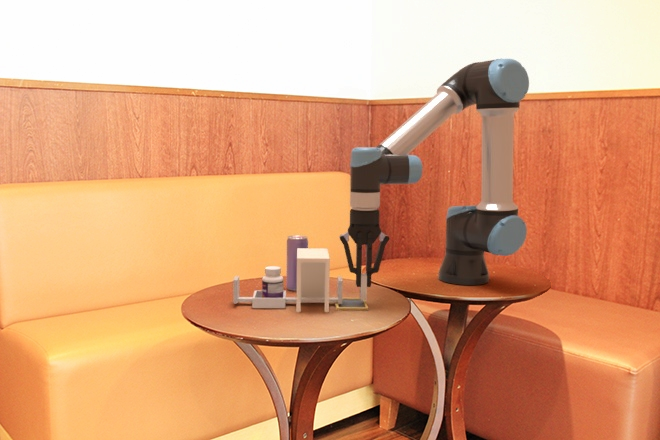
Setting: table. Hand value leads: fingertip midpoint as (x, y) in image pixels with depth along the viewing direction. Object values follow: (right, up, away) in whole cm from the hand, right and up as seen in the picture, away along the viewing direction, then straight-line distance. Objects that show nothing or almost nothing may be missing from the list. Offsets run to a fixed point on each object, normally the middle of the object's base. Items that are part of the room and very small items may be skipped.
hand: (363, 299), depth 166 cm
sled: (-19, -1, -1) cm, 19 cm away
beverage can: (-18, +1, +16) cm, 24 cm away
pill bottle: (-23, -2, -1) cm, 23 cm away
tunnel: (-13, -1, -1) cm, 13 cm away
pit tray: (-3, -2, 0) cm, 4 cm away
